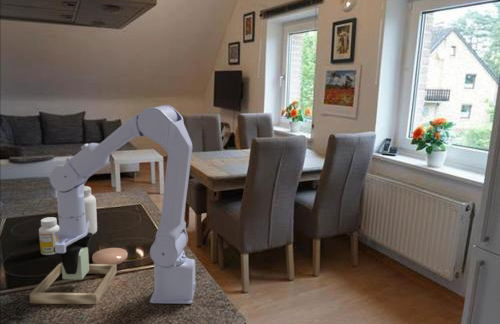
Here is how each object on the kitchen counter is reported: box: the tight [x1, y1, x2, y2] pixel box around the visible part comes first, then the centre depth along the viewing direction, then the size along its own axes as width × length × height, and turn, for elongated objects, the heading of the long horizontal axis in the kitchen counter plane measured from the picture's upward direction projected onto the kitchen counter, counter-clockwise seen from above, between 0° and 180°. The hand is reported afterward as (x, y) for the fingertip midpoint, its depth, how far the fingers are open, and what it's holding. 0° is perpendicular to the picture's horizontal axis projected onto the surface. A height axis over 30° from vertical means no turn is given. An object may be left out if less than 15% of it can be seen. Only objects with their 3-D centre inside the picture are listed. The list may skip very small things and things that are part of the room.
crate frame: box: [29, 263, 118, 305], centre depth 93 cm, size 15×15×2 cm
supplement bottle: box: [38, 216, 59, 256], centre depth 111 cm, size 5×5×10 cm
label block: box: [60, 246, 90, 280], centre depth 92 cm, size 4×4×6 cm
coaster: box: [91, 247, 128, 265], centre depth 108 cm, size 9×9×1 cm
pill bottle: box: [84, 185, 98, 236], centre depth 124 cm, size 8×8×15 cm
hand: (75, 268), depth 93 cm, fingers closed on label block, 4 cm apart
